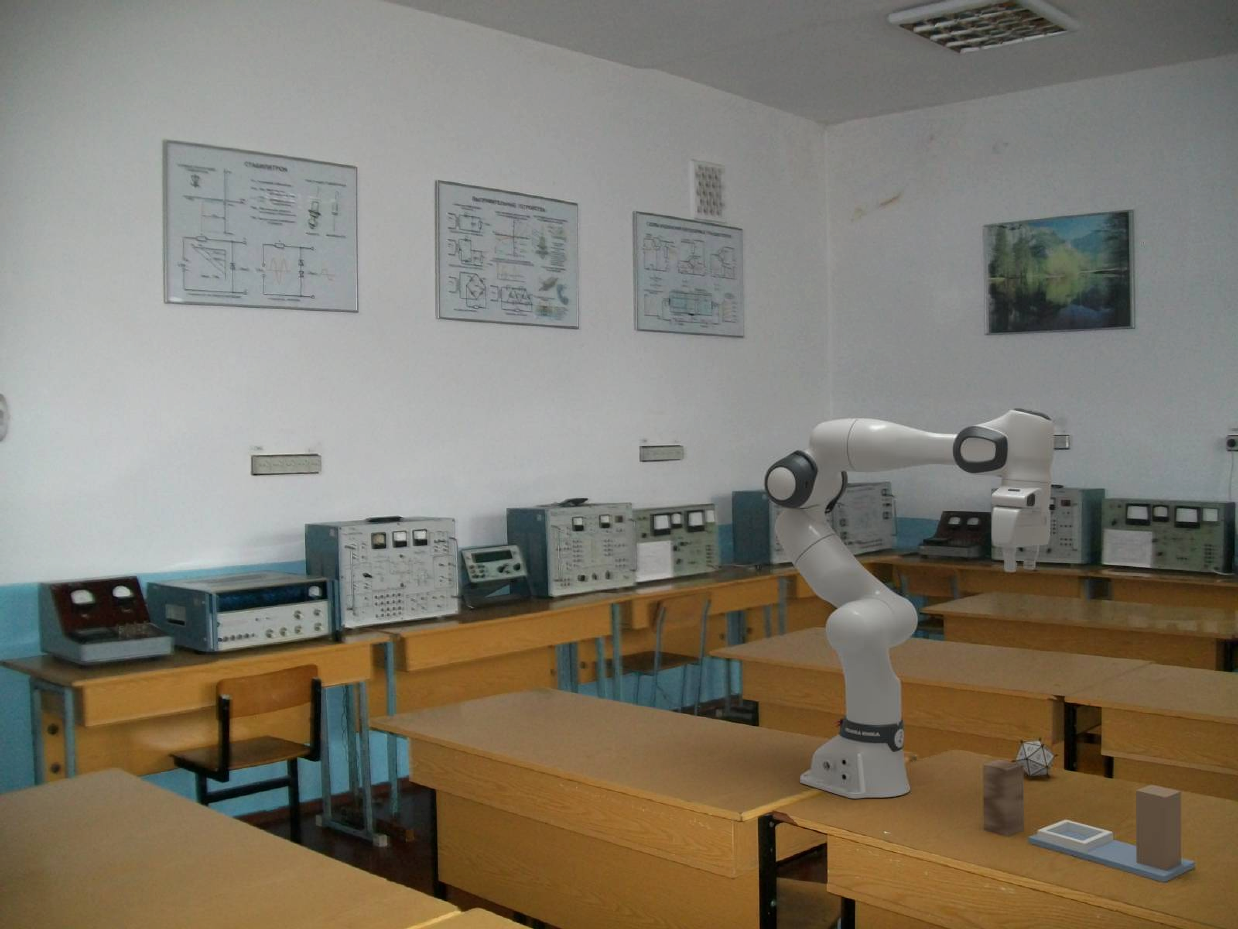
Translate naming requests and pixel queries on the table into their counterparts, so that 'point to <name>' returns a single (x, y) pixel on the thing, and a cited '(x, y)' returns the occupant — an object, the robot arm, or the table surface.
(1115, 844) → the baseplate
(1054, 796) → the table surface
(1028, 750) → the game die
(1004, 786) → the pillar
